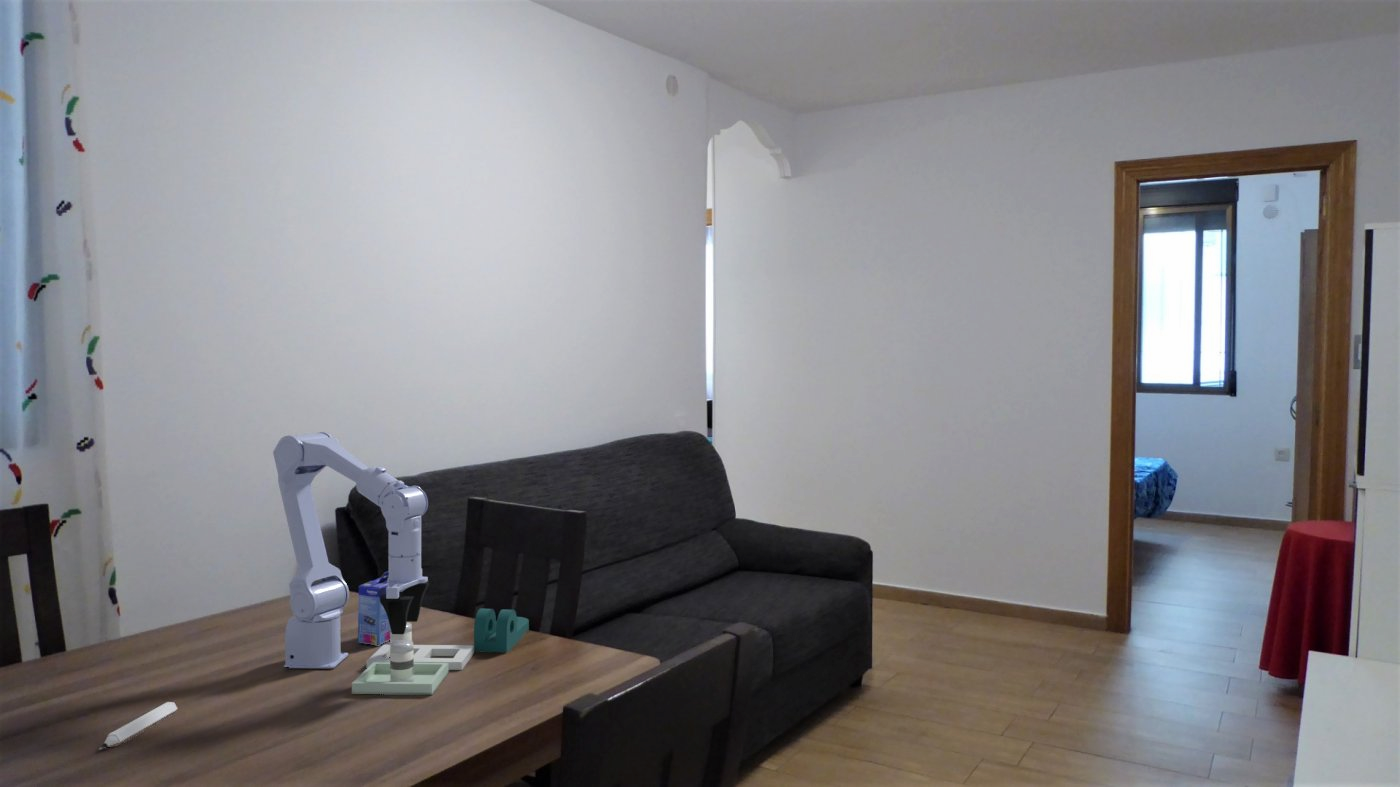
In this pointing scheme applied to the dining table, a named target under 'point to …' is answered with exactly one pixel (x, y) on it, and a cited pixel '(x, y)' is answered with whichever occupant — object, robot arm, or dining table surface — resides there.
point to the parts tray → (379, 682)
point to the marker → (139, 724)
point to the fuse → (405, 636)
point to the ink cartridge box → (373, 613)
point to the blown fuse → (401, 661)
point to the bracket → (498, 630)
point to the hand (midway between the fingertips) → (405, 627)
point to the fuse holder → (430, 655)
